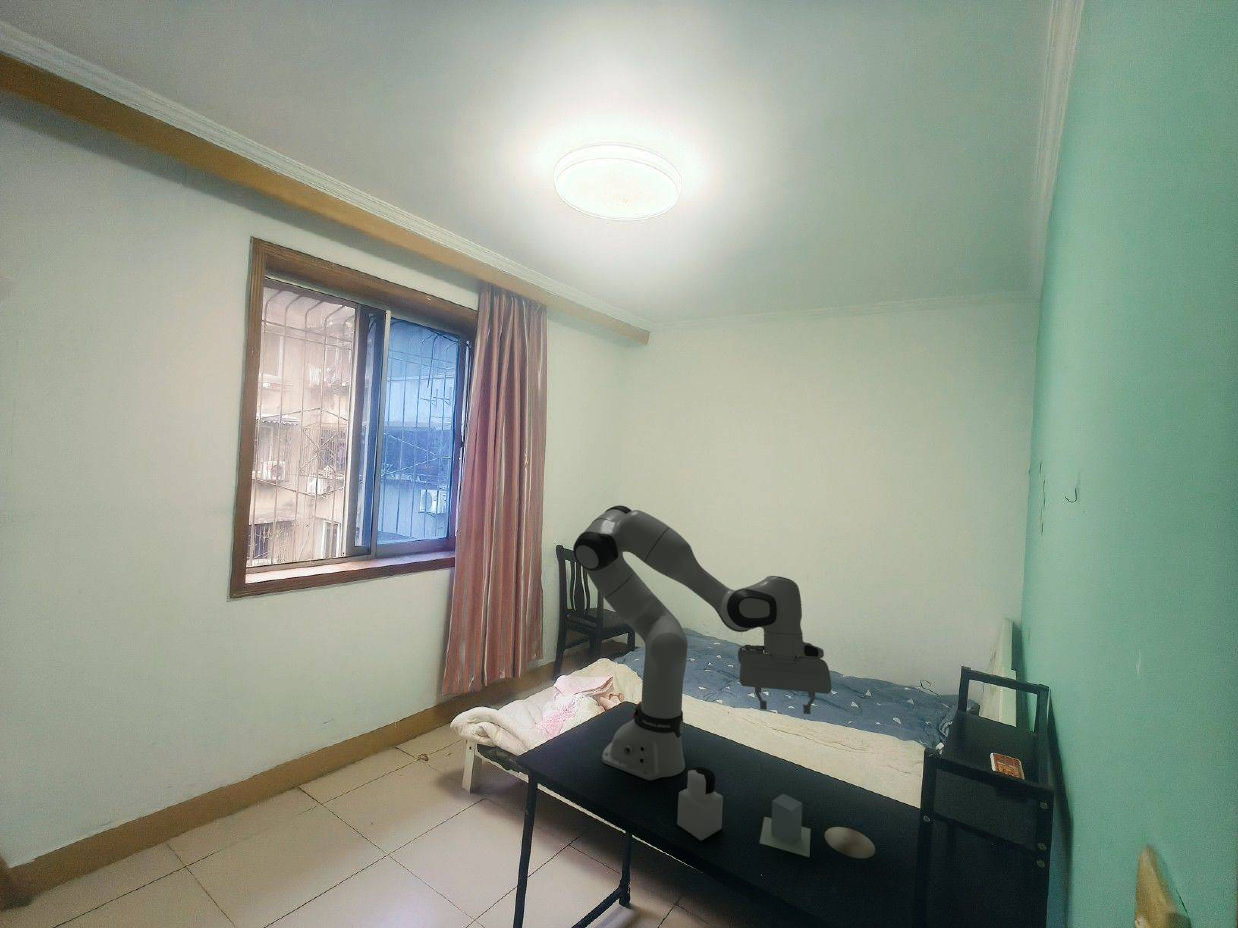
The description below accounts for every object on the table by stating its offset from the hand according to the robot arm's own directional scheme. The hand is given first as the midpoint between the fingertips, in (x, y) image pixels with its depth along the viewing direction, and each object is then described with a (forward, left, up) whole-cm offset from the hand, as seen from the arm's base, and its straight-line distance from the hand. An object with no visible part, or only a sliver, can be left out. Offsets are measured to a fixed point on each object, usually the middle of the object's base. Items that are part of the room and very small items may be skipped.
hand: (784, 711), depth 120 cm
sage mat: (+1, -3, -25) cm, 26 cm away
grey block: (+1, -3, -25) cm, 25 cm away
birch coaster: (+14, +1, -25) cm, 29 cm away
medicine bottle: (-17, -8, -26) cm, 32 cm away
